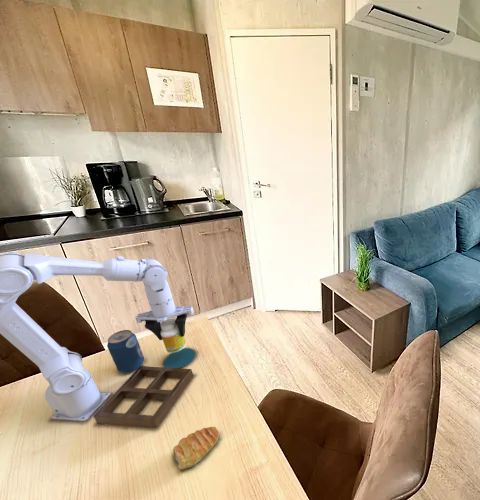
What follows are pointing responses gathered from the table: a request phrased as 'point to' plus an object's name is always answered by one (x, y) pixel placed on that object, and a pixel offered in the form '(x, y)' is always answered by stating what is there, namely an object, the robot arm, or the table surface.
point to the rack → (144, 397)
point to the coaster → (180, 358)
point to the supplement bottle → (172, 336)
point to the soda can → (125, 351)
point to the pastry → (195, 446)
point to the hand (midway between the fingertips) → (172, 336)
